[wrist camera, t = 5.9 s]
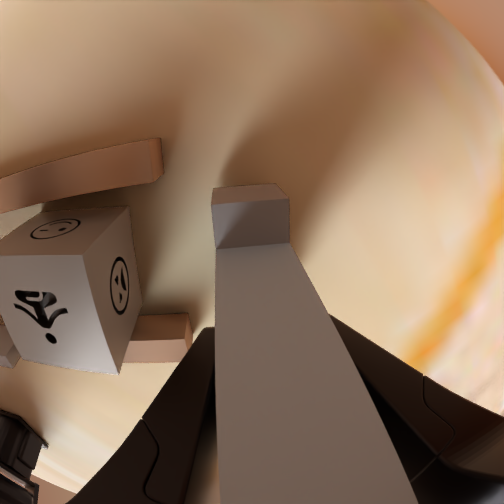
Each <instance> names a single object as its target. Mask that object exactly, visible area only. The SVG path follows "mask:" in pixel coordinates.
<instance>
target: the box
mask: <svg viewBox="0 0 504 504" xmlns="http://www.w3.org/2000/svg"><path fill="white" fill-rule="evenodd" d="M20 356H21V355H20V354H19V352H18V350H17V348H16V346H15V344H14V342H13V340H12V338H11V336H10V334H9V332H8V330H7V328H6V326H5V325H0V366H3V367H8V368H14V367H15V365H16V363H17V361H18V360H19V358H20Z"/></svg>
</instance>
